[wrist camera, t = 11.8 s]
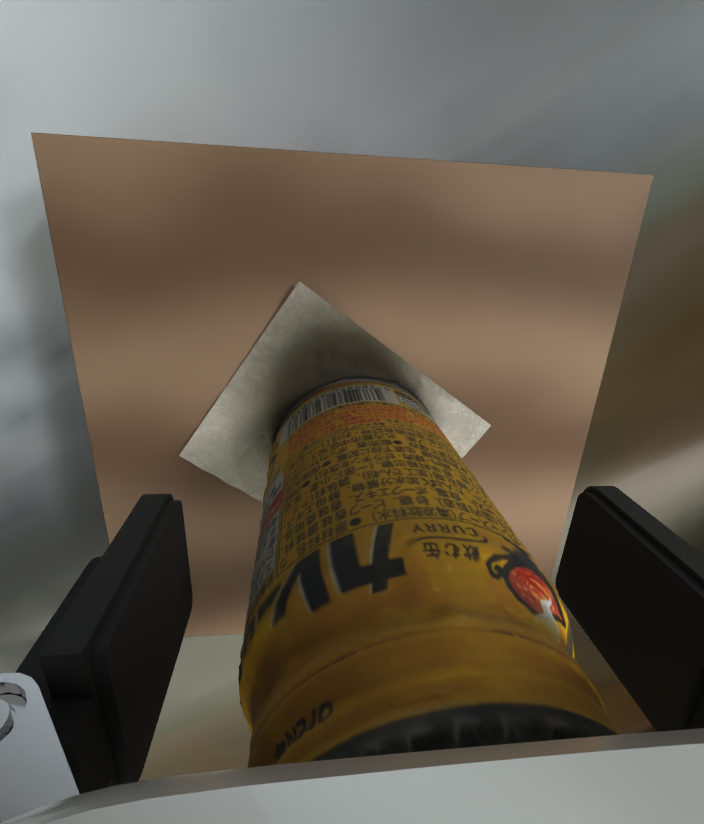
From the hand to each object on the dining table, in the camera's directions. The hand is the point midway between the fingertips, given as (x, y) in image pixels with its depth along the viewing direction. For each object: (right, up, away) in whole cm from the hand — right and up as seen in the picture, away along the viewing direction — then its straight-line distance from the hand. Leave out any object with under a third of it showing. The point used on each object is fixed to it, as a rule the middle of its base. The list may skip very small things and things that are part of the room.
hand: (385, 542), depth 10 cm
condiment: (-1, +2, +6) cm, 6 cm away
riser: (-1, +3, +9) cm, 10 cm away
